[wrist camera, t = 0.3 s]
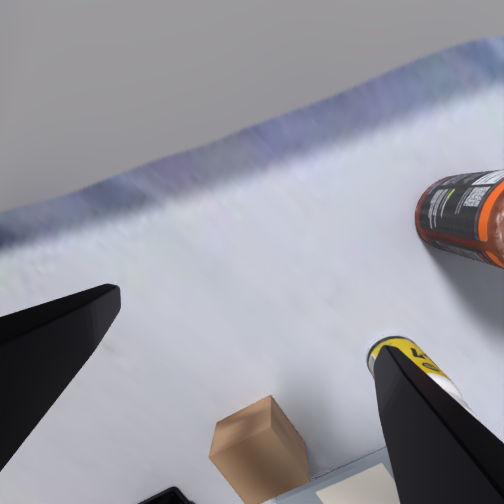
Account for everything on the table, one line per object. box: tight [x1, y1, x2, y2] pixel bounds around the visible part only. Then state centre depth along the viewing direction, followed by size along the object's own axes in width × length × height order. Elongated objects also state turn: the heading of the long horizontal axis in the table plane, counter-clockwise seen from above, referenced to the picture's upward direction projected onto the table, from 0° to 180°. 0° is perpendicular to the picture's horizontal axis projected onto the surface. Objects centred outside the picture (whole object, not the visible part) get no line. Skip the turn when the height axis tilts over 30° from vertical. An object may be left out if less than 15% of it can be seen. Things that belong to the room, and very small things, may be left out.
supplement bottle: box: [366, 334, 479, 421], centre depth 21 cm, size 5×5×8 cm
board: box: [276, 447, 400, 504], centre depth 28 cm, size 16×9×1 cm, turn 124°
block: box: [209, 395, 310, 504], centre depth 26 cm, size 6×6×4 cm
